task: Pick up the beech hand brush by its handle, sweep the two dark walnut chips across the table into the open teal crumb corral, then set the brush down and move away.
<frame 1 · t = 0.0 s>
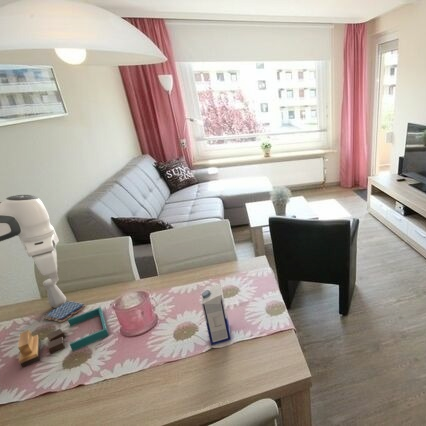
hand: (55, 275, 104), 25 cm above the table, tool pointing down, fingers open, 8 cm apart
chip b: (57, 338, 110), on the table
woven mat: (66, 313, 124), on the table
corral: (87, 330, 113), on the table
chip a: (57, 348, 105), on the table
milk carton: (220, 336, 108), on the table
salt shaker: (59, 305, 129), on the table
brush: (32, 353, 103), on the table
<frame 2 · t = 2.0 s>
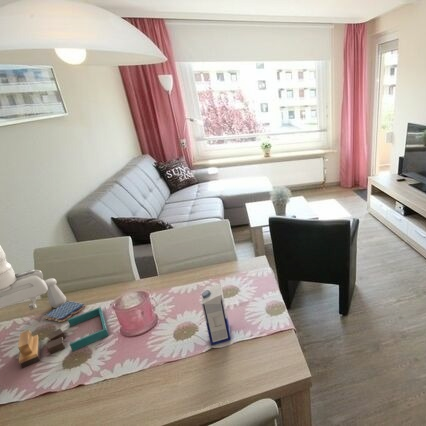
hand: (14, 315, 98), 17 cm above the table, tool pointing down, fingers open, 8 cm apart
nothing on the table moved.
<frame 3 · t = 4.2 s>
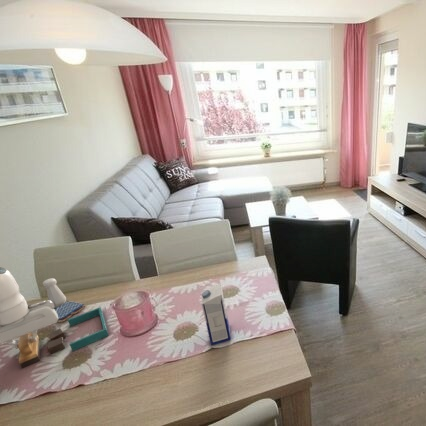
hand: (26, 344, 102), 4 cm above the table, tool pointing down, fingers closed on brush, 2 cm apart
brush: (32, 353, 103), on the table, touching gripper
everything else where it was.
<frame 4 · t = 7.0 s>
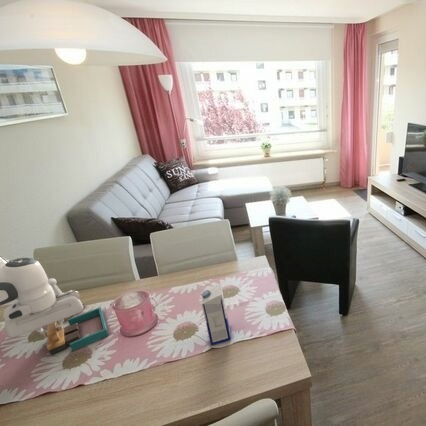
hand: (53, 332, 106), 5 cm above the table, tool pointing down, fingers closed on brush, 2 cm apart
chip b: (72, 333, 112), on the table, touching brush
chip a: (73, 341, 108), on the table, touching brush
brush: (58, 341, 108), on the table, touching chip a, chip b, gripper
everything else where it was.
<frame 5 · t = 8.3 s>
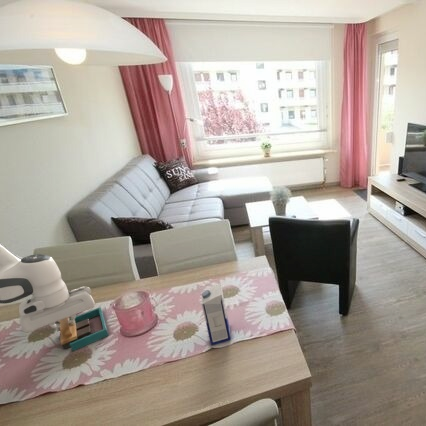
hand: (66, 327, 108), 5 cm above the table, tool pointing down, fingers closed on brush, 2 cm apart
chip b: (84, 328, 114), on the table
chip a: (85, 336, 110), on the table, touching brush
brush: (70, 336, 110), on the table, touching chip a, gripper
everything else where it was.
when the fingers open (4 cm above the table, at t = 10.8 s): brush stays where it is, on the table.
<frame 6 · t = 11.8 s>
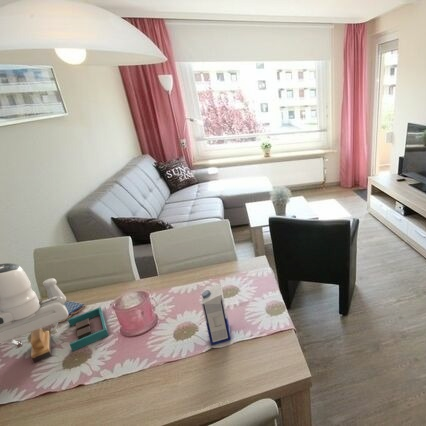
hand: (37, 339, 103), 5 cm above the table, tool pointing down, fingers open, 8 cm apart
chip a: (85, 336, 110), on the table
brush: (43, 349, 105), on the table
everything else where it was.
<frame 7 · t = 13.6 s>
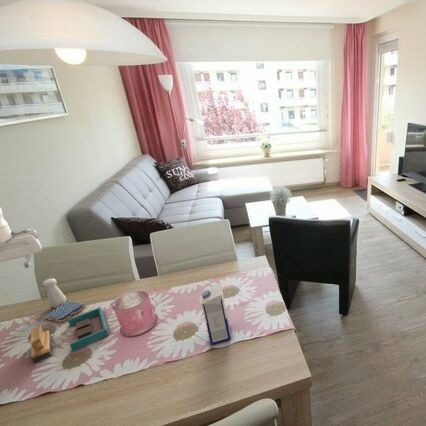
hand: (10, 271, 103), 28 cm above the table, tool pointing down, fingers open, 8 cm apart
nothing on the table moved.
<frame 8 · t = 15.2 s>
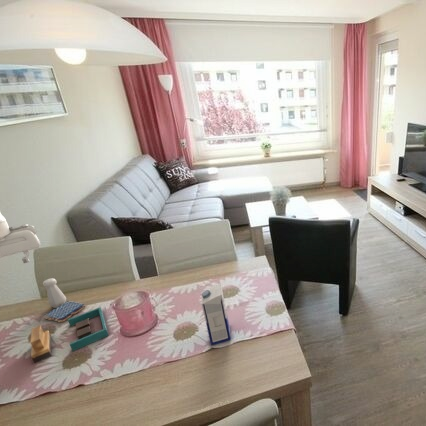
hand: (8, 267, 103), 29 cm above the table, tool pointing down, fingers open, 8 cm apart
nothing on the table moved.
at the end: chip a inside the target area on the corral (3.1 cm from its centre), point 0.0 cm above the corral's base; chip b inside the target area on the corral (2.7 cm from its centre), point 0.0 cm above the corral's base; the gripper is holding nothing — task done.
